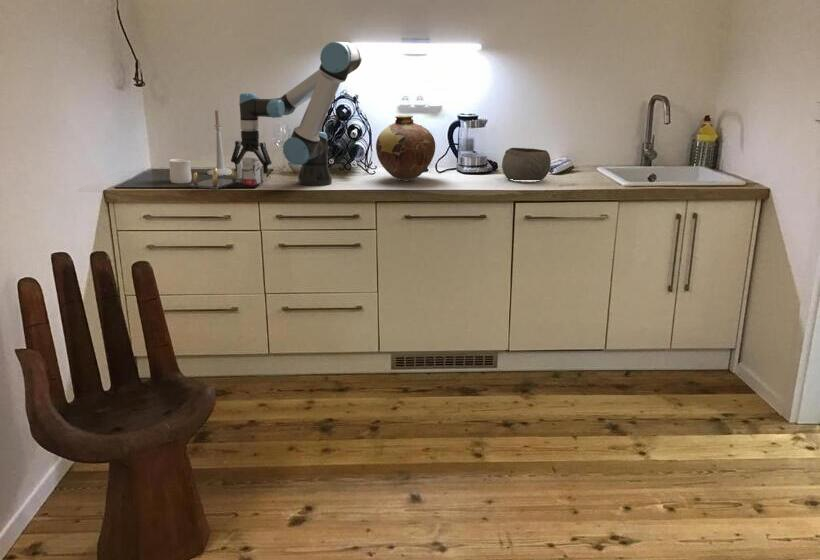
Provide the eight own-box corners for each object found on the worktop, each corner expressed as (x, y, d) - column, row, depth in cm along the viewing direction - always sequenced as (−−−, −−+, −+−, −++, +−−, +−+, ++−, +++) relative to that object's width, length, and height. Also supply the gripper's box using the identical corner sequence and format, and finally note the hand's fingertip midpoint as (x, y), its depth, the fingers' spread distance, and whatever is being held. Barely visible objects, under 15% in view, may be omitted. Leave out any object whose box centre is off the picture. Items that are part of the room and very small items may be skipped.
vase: (416, 188, 307) (418, 119, 298) (364, 181, 320) (364, 115, 311) (444, 179, 331) (447, 115, 322) (395, 174, 344) (396, 111, 334)
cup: (179, 184, 304) (177, 162, 301) (164, 182, 309) (162, 160, 306) (196, 181, 312) (195, 159, 309) (181, 179, 317) (180, 157, 314)
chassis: (240, 182, 311) (239, 169, 309) (217, 189, 295) (216, 175, 293) (213, 180, 315) (212, 167, 313) (189, 186, 299) (188, 172, 297)
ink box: (253, 185, 304) (252, 158, 301) (243, 185, 305) (241, 158, 302) (261, 182, 313) (260, 156, 309) (251, 182, 313) (249, 155, 310)
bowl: (559, 182, 331) (562, 150, 327) (526, 186, 318) (529, 153, 313) (523, 175, 349) (525, 145, 344) (491, 179, 335) (493, 147, 330)
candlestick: (230, 176, 327) (226, 110, 318) (203, 175, 328) (199, 110, 319) (237, 171, 340) (234, 108, 330) (212, 171, 340) (207, 108, 331)
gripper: (278, 130, 302) (280, 180, 308) (230, 127, 309) (233, 176, 315) (269, 132, 295) (271, 183, 301) (220, 129, 302) (223, 178, 309)
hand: (251, 179), depth 308 cm, fingers open, 12 cm apart
